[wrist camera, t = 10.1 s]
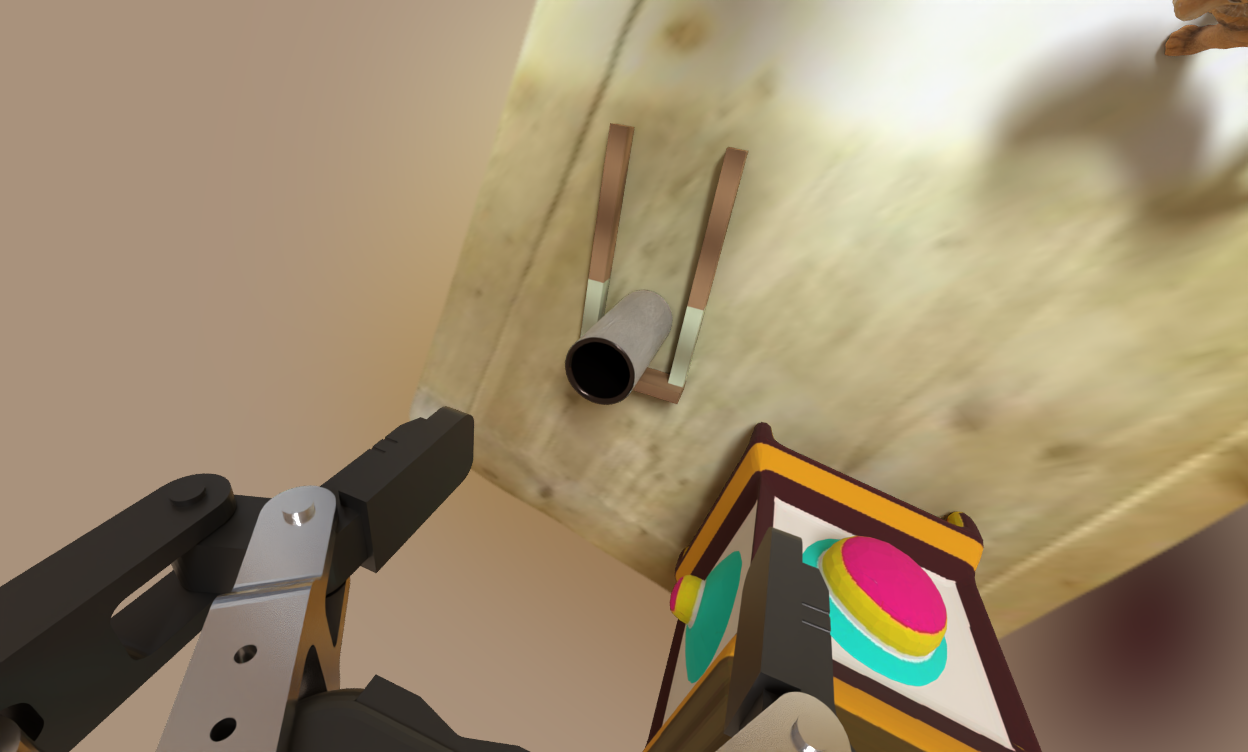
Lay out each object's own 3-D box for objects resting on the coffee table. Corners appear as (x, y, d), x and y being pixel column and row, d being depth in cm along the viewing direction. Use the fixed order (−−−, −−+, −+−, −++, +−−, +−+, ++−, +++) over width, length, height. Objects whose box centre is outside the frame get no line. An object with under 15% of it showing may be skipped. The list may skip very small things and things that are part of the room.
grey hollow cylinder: (629, 350, 40) (581, 411, 31) (608, 298, 38) (552, 347, 29) (681, 336, 38) (645, 397, 29) (661, 281, 36) (617, 328, 28)
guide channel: (617, 123, 33) (605, 123, 30) (748, 151, 31) (744, 152, 29) (583, 358, 41) (571, 370, 39) (683, 389, 40) (677, 404, 38)
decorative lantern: (751, 394, 38) (656, 927, 12) (1003, 507, 36) (1520, 1448, 10) (663, 552, 48) (510, 1024, 23) (854, 649, 46) (925, 1296, 20)
